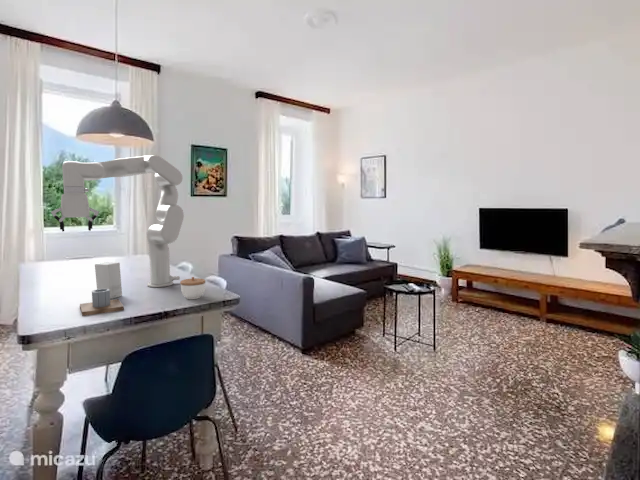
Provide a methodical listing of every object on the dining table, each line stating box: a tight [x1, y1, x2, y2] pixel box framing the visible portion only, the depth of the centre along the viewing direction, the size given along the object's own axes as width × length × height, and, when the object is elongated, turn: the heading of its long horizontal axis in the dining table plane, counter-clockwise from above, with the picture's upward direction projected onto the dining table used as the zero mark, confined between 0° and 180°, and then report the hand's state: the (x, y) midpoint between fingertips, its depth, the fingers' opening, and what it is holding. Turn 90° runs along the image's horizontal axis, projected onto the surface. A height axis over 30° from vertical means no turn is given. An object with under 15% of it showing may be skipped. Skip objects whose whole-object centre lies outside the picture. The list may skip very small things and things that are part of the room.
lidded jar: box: [180, 276, 206, 300], centre depth 170 cm, size 11×11×9 cm
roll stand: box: [79, 298, 125, 317], centre depth 151 cm, size 14×14×6 cm
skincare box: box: [94, 261, 123, 300], centre depth 170 cm, size 8×7×16 cm
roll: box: [91, 288, 111, 307], centre depth 151 cm, size 6×6×6 cm
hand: (76, 230), depth 163 cm, fingers open, 9 cm apart
